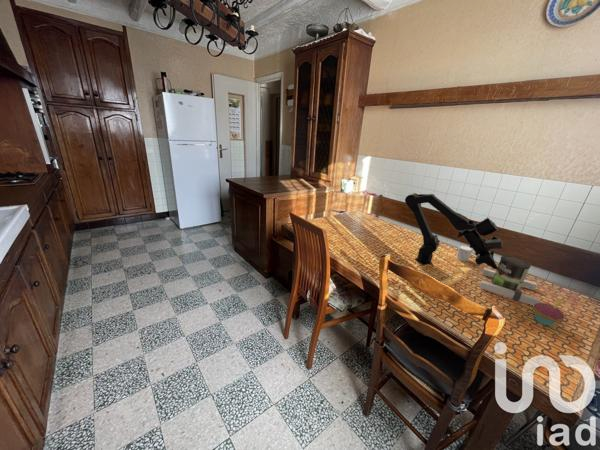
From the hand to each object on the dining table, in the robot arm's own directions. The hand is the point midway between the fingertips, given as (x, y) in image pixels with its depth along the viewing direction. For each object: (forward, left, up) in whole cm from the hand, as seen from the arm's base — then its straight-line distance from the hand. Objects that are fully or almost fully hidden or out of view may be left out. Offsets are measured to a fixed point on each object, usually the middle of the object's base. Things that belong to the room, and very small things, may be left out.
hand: (496, 268), depth 113 cm
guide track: (+4, -5, -8) cm, 10 cm away
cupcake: (-3, -25, -8) cm, 27 cm away
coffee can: (+3, -4, -8) cm, 10 cm away
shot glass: (+6, +23, -8) cm, 25 cm away
